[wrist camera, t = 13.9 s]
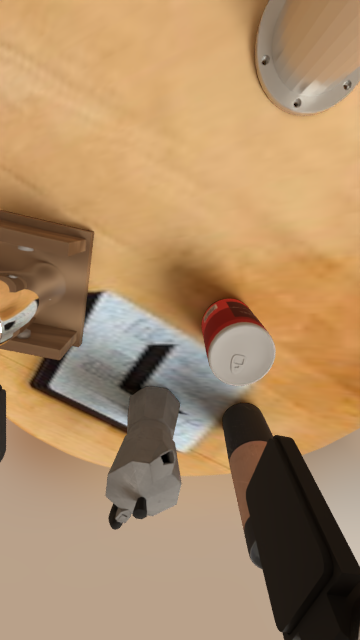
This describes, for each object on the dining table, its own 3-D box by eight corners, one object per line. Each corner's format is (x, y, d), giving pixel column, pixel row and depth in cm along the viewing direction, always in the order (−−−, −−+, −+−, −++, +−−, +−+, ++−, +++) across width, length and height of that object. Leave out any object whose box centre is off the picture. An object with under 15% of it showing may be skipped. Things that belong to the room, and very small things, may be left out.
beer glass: (17, 299, 38) (-80, 347, 24) (21, 251, 35) (-83, 272, 21) (66, 313, 38) (1, 367, 24) (73, 267, 36) (6, 297, 22)
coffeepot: (149, 366, 43) (130, 460, 26) (197, 392, 45) (209, 496, 28) (106, 430, 48) (66, 545, 31) (152, 451, 49) (138, 571, 32)
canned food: (201, 346, 42) (208, 388, 32) (200, 298, 39) (207, 325, 29) (250, 344, 42) (273, 385, 31) (252, 295, 39) (278, 322, 29)
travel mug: (257, 439, 48) (306, 577, 30) (216, 433, 48) (240, 569, 29) (269, 404, 46) (332, 533, 27) (226, 398, 45) (259, 524, 26)
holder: (2, 210, 35) (-41, 208, 28) (94, 232, 36) (74, 234, 29) (2, 327, 41) (-33, 349, 34) (81, 343, 41) (62, 367, 35)
